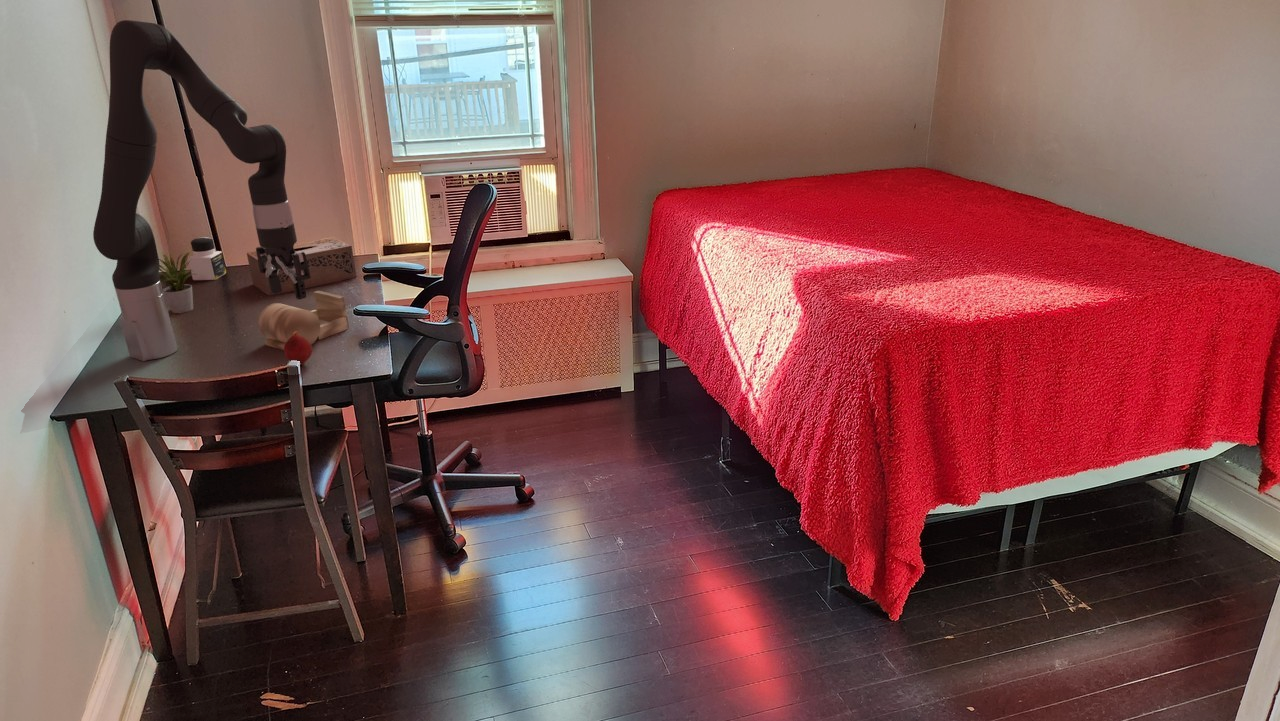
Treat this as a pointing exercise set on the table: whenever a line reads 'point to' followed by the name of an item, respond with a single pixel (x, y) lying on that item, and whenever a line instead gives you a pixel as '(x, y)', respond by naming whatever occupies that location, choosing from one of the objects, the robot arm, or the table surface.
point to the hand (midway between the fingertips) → (289, 295)
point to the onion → (298, 348)
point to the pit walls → (330, 313)
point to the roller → (287, 324)
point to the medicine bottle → (206, 260)
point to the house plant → (177, 284)
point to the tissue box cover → (311, 265)
